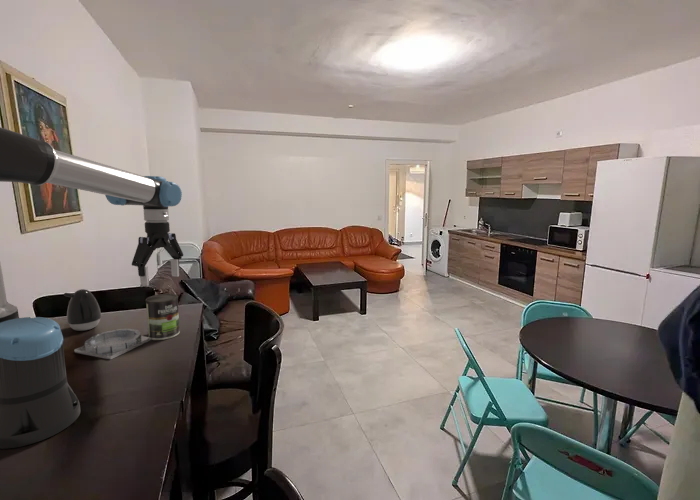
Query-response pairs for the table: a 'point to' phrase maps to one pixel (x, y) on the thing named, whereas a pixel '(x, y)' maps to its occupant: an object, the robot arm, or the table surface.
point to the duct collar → (112, 343)
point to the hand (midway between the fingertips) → (161, 280)
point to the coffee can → (162, 316)
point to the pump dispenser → (82, 310)
